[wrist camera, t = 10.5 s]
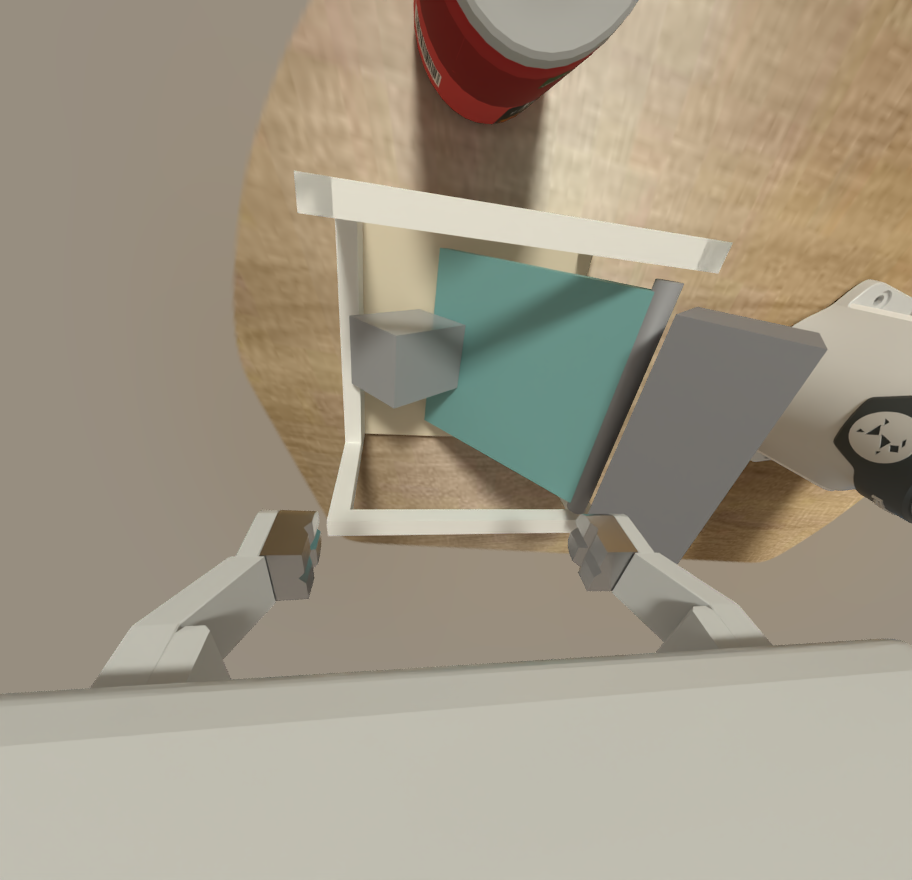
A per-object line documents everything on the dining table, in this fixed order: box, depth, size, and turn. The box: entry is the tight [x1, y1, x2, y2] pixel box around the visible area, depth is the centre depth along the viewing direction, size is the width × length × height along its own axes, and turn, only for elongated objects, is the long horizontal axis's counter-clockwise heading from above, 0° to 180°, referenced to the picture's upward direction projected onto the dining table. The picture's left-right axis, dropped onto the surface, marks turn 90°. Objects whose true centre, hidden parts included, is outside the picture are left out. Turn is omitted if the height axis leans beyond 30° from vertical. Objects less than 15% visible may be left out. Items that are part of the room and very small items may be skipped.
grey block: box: [349, 309, 466, 408], centre depth 24 cm, size 5×5×6 cm
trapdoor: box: [424, 248, 828, 564], centre depth 22 cm, size 20×14×5 cm
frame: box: [294, 171, 732, 536], centre depth 23 cm, size 18×18×12 cm
